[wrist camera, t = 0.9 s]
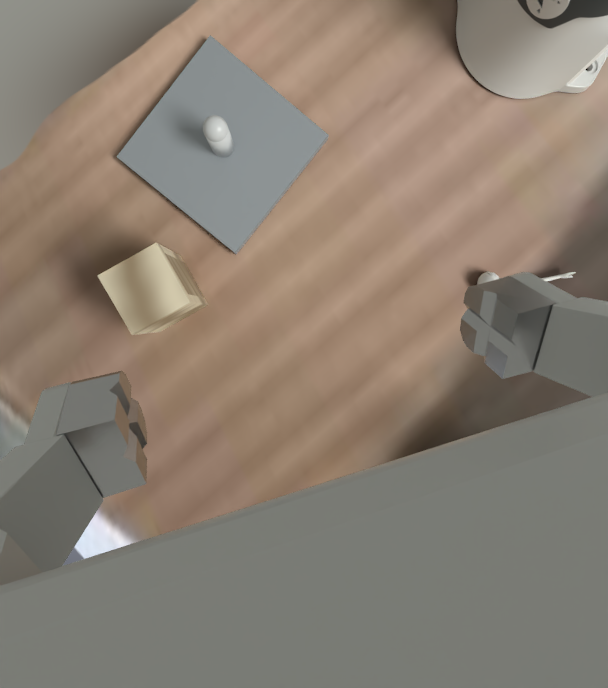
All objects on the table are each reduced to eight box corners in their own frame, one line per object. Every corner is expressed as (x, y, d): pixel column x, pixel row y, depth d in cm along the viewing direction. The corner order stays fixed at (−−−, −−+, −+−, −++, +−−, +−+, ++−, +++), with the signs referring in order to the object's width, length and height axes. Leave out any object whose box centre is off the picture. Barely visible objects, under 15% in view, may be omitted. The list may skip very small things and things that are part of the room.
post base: (212, 41, 45) (198, -3, 39) (327, 139, 46) (332, 111, 40) (120, 160, 46) (92, 135, 40) (236, 254, 47) (227, 244, 40)
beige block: (180, 255, 46) (156, 242, 38) (208, 304, 47) (190, 302, 39) (131, 282, 47) (97, 275, 39) (159, 331, 47) (131, 334, 39)
